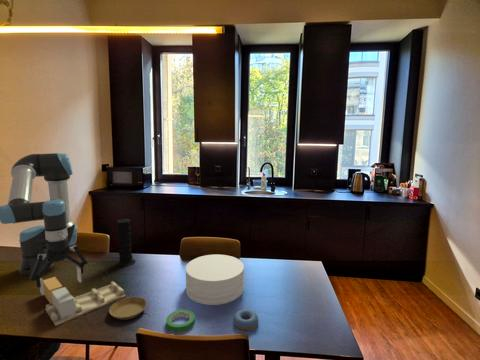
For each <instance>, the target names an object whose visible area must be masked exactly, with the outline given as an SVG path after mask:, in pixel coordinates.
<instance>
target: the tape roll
mask: <svg viewBox="0 0 480 360" xmlns="http://www.w3.org/2000/svg"><path fill="white" fill-rule="evenodd" d="M178 318H186V319H188V321H186V322H184V323H178V324H177V323H174V322H173V321H174V320H176V319H178ZM195 323H196V316H195V313H194V312H193V311H191V310H188V309H177V310H174V311H172V312H171V313H169V314H168V315H167V317H166V320H165V324H166V325H165V326H166V328H167V330H168V331H169V332H172V333H176V334H180V333H184V332H188V331H189V330H190V329H192V328H193V327H194V326H195Z"/></svg>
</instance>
